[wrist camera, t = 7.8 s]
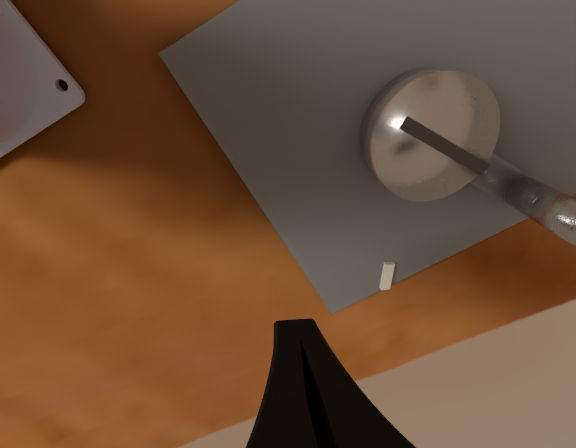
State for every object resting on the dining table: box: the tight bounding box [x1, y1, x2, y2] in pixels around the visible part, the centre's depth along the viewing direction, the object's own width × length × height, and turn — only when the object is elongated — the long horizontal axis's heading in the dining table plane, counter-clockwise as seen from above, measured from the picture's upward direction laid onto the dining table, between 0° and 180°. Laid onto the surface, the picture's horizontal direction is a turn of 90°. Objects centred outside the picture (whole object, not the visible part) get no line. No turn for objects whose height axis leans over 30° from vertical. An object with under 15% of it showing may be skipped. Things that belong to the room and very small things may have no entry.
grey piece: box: [360, 67, 576, 246], centre depth 16 cm, size 11×6×5 cm, turn 62°
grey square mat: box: [158, 0, 576, 314], centre depth 18 cm, size 18×18×1 cm
